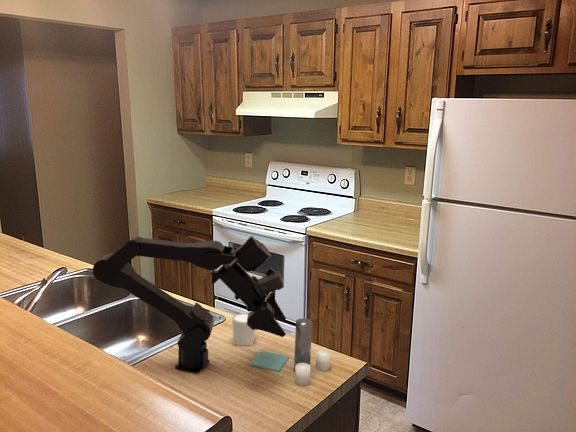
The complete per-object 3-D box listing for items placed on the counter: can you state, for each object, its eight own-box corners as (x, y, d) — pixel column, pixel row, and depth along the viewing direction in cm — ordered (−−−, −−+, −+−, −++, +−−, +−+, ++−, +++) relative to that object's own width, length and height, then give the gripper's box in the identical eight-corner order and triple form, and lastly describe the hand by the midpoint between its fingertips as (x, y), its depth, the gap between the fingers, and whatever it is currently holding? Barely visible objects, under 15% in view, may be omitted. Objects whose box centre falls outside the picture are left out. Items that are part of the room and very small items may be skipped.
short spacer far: (314, 369, 124) (314, 354, 123) (317, 363, 127) (318, 348, 126) (327, 372, 123) (328, 357, 122) (331, 365, 126) (332, 351, 125)
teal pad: (249, 365, 124) (249, 363, 124) (261, 351, 132) (261, 350, 132) (279, 371, 122) (279, 370, 122) (289, 357, 129) (289, 356, 129)
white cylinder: (226, 342, 136) (227, 319, 135) (240, 333, 142) (240, 311, 141) (247, 349, 133) (248, 324, 132) (260, 339, 139) (261, 316, 138)
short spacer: (293, 384, 116) (293, 368, 116) (297, 376, 120) (297, 361, 119) (307, 386, 115) (308, 370, 115) (311, 379, 119) (312, 364, 118)
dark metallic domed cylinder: (291, 372, 122) (293, 323, 119) (296, 365, 125) (298, 317, 123) (307, 375, 120) (309, 326, 118) (311, 368, 124) (314, 320, 122)
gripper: (263, 273, 108) (310, 322, 110) (266, 251, 127) (307, 293, 129) (227, 305, 110) (274, 353, 112) (235, 279, 128) (276, 320, 130)
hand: (284, 327), depth 121 cm, fingers open, 9 cm apart
